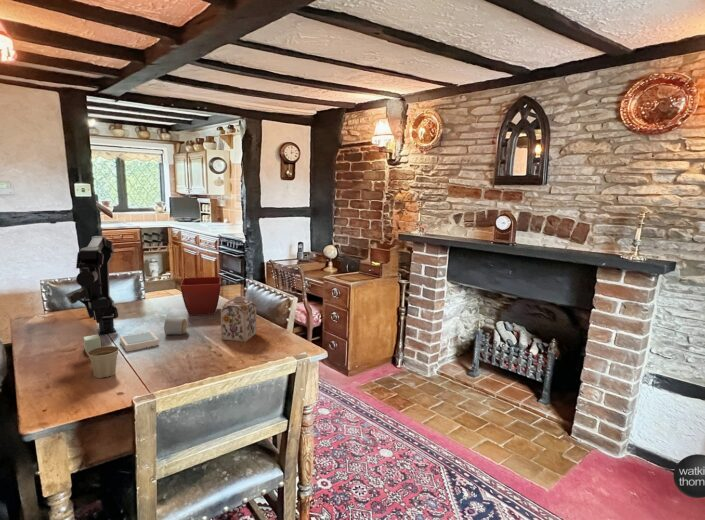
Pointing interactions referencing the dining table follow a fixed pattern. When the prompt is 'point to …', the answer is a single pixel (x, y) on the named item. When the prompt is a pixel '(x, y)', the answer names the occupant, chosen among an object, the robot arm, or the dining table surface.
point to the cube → (91, 342)
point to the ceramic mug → (175, 326)
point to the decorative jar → (238, 320)
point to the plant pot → (201, 294)
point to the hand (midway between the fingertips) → (94, 320)
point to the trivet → (139, 341)
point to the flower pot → (103, 360)
